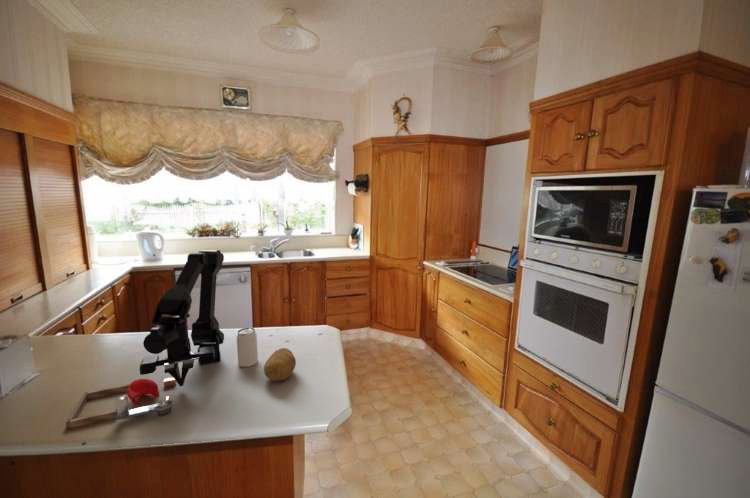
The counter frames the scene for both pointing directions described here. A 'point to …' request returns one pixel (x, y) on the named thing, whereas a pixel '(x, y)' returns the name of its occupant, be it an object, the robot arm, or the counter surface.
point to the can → (247, 347)
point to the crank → (124, 411)
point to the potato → (280, 365)
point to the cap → (142, 389)
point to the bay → (76, 422)
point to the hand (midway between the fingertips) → (181, 385)
